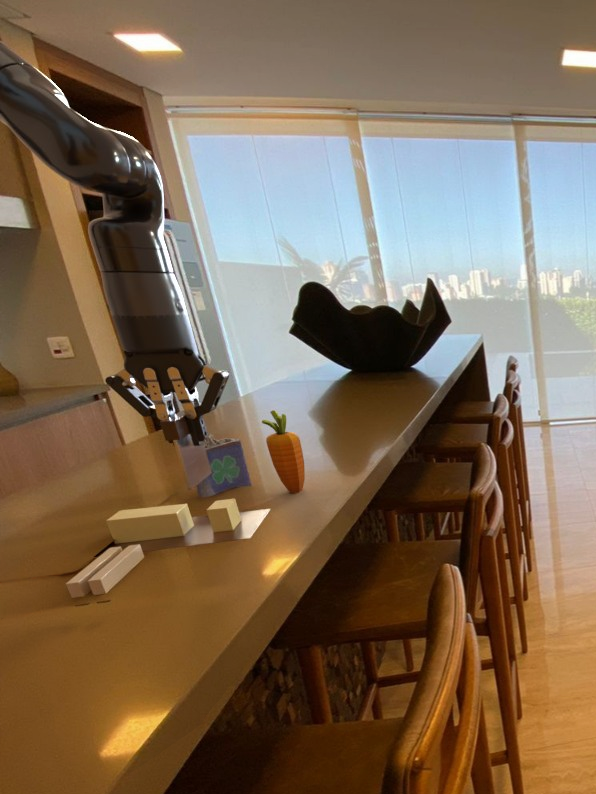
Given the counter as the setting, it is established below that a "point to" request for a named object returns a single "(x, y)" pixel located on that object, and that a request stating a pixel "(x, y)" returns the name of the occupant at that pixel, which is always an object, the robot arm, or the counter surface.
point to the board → (201, 533)
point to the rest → (105, 572)
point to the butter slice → (224, 515)
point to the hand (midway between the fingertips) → (189, 444)
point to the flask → (224, 467)
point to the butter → (150, 523)
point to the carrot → (286, 454)
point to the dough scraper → (186, 450)
